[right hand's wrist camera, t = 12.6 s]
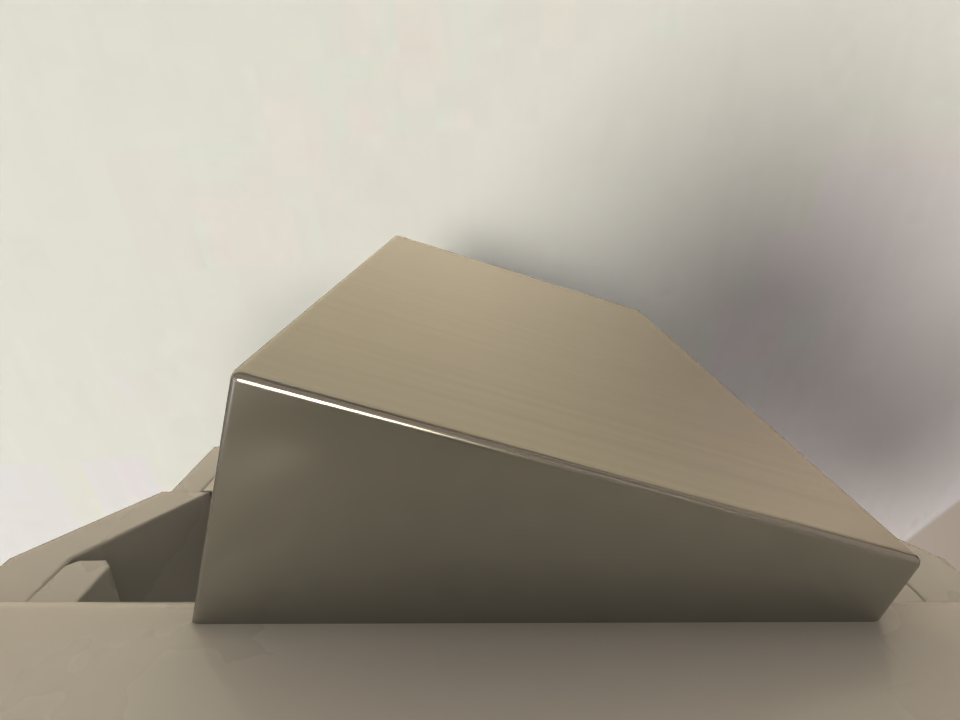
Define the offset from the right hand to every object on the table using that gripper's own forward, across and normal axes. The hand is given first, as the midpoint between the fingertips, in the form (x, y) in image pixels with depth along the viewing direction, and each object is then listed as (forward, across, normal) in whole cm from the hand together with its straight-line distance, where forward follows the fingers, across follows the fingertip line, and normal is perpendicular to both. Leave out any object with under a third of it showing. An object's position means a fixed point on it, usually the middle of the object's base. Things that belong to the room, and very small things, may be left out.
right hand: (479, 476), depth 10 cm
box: (+3, -2, -6) cm, 8 cm away
